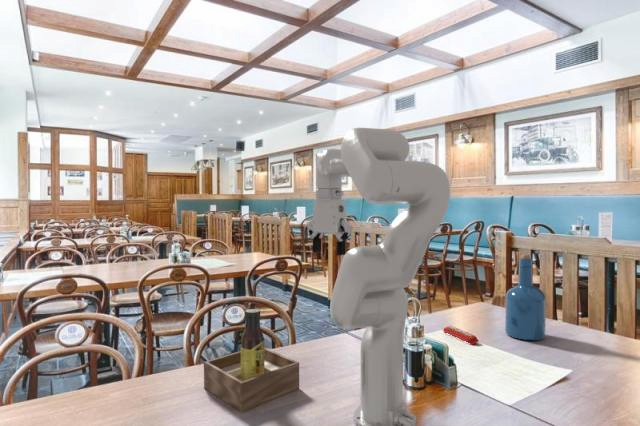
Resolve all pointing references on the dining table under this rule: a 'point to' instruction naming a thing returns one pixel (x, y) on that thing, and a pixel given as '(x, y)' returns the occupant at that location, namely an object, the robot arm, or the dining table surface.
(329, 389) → the dining table surface
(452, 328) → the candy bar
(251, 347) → the sauce bottle
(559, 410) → the dining table surface
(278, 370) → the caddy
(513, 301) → the wine bottle
